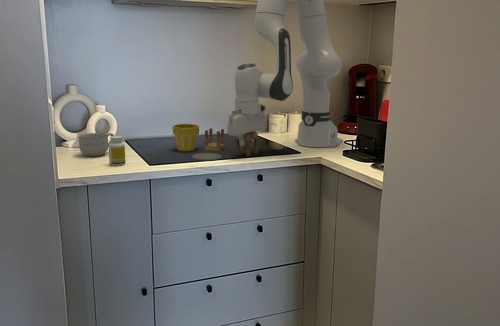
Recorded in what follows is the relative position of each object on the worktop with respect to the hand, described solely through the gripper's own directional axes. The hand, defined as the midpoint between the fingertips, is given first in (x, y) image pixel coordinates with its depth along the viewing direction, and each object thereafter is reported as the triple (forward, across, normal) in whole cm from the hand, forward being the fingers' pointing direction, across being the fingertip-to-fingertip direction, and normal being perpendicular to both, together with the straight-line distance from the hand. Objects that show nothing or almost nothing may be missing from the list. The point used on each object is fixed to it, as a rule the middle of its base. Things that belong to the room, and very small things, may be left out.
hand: (246, 144), depth 191 cm
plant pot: (+4, -7, +24) cm, 26 cm away
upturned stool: (+4, +1, +16) cm, 17 cm away
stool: (+4, 0, 0) cm, 4 cm away
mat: (+4, -12, +10) cm, 16 cm away
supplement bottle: (+4, -40, +27) cm, 48 cm away
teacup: (+4, -34, +45) cm, 56 cm away
